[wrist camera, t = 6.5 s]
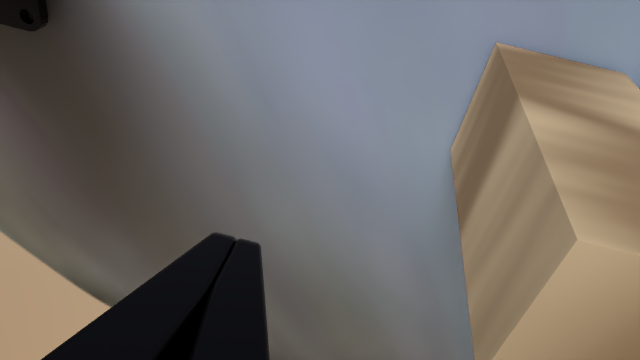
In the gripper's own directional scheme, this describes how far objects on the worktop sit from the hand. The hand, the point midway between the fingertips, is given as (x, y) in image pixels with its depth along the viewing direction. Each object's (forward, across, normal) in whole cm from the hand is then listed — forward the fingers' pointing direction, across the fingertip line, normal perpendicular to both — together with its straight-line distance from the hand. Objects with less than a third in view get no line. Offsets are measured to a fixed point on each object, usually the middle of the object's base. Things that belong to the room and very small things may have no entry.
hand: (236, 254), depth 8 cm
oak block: (+9, -7, 0) cm, 12 cm away
